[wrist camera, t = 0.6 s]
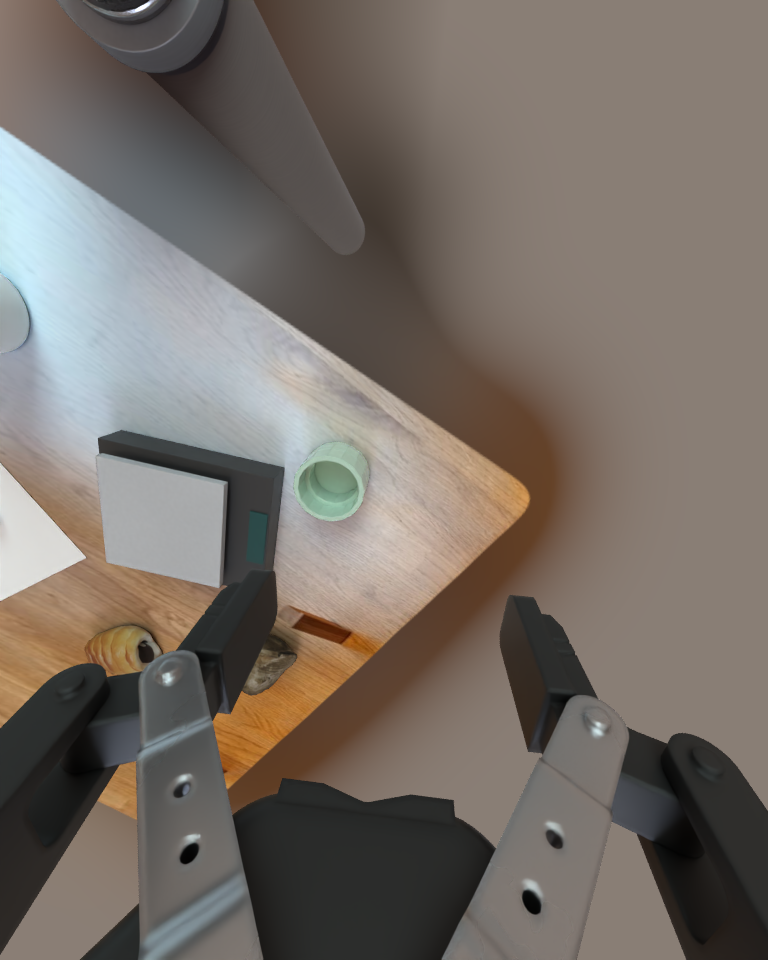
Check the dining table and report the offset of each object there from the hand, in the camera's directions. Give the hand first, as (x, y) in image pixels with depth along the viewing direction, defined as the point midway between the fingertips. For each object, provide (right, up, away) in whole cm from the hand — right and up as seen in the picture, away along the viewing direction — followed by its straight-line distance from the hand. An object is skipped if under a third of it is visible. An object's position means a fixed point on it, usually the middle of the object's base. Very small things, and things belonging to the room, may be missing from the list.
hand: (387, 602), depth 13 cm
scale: (-20, +1, +27) cm, 34 cm away
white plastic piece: (-49, -1, +31) cm, 58 cm away
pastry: (-34, -17, +36) cm, 53 cm away
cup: (-5, +5, +24) cm, 25 cm away
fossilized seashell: (-16, -17, +35) cm, 42 cm away
